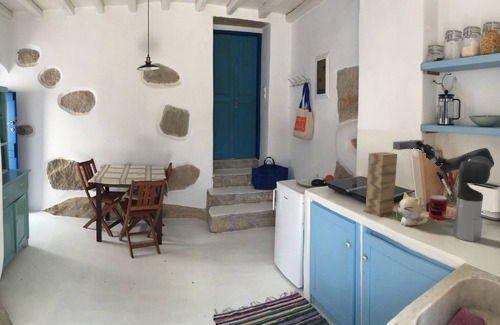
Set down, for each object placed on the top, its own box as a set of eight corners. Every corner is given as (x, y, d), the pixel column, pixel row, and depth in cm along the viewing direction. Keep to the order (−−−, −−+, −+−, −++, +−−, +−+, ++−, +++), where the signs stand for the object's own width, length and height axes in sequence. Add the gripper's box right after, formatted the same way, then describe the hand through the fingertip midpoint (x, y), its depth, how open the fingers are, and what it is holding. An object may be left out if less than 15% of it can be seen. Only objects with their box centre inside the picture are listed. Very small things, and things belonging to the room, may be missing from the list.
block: (423, 147, 191) (423, 140, 191) (399, 149, 181) (399, 142, 180) (416, 146, 195) (417, 139, 194) (392, 149, 184) (393, 141, 184)
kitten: (388, 220, 169) (390, 191, 167) (404, 218, 172) (407, 190, 170) (410, 230, 155) (413, 199, 153) (428, 228, 158) (431, 197, 156)
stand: (395, 213, 181) (399, 153, 176) (380, 216, 175) (384, 155, 170) (378, 208, 190) (381, 151, 185) (363, 211, 184) (366, 153, 179)
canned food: (441, 215, 177) (442, 195, 175) (448, 220, 169) (450, 199, 168) (425, 215, 178) (427, 194, 176) (432, 220, 170) (434, 198, 168)
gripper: (438, 162, 192) (423, 148, 183) (415, 159, 204) (400, 146, 195) (443, 150, 192) (428, 136, 184) (419, 148, 205) (405, 134, 196)
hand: (414, 141), depth 189 cm, fingers closed on block, 4 cm apart
